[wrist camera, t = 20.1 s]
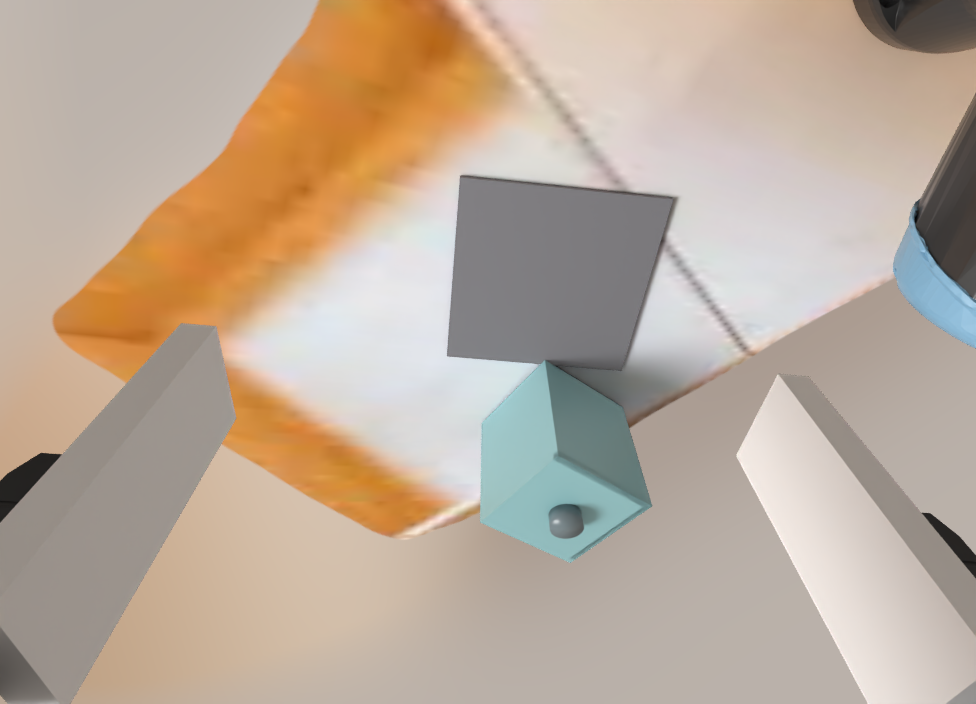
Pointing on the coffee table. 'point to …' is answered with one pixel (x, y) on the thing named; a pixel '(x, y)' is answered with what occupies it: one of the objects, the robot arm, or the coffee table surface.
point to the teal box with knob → (559, 466)
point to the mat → (550, 272)
